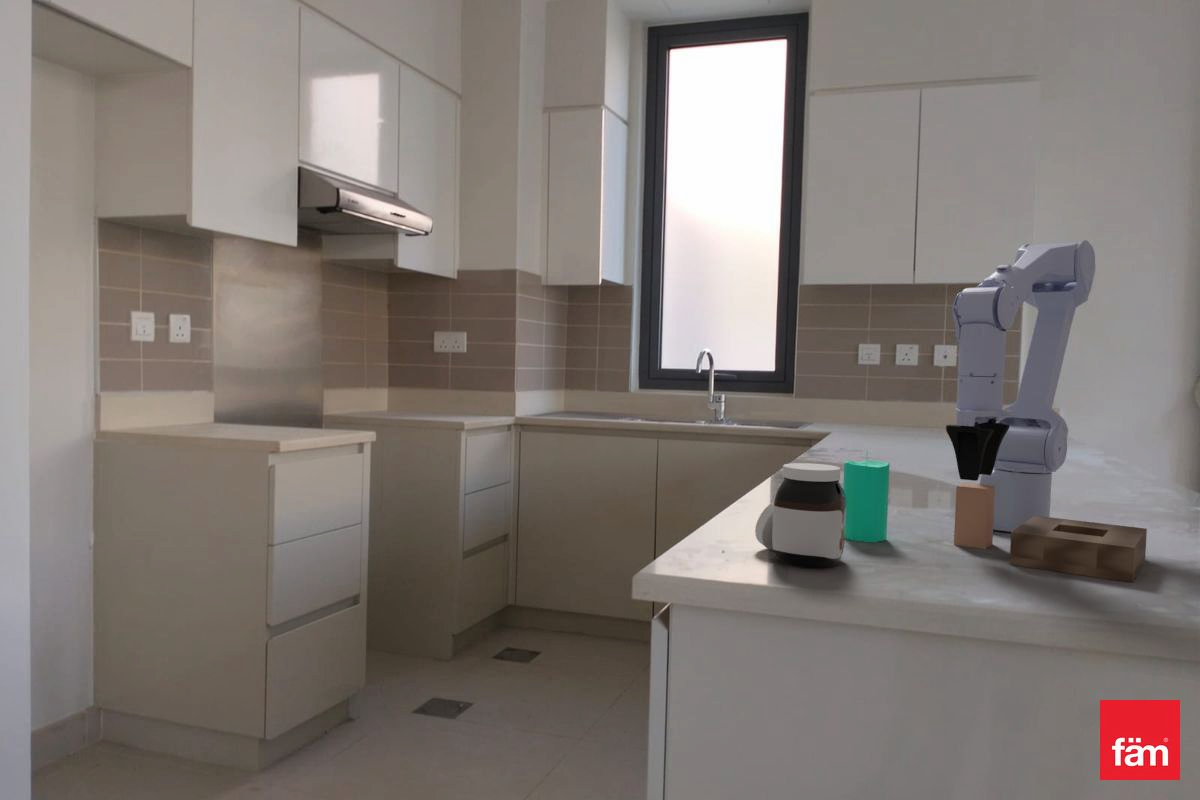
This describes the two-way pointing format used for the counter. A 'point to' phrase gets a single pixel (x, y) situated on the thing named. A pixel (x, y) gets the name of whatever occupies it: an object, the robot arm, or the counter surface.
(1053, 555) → the socket block
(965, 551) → the counter surface
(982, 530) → the peg
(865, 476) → the candle
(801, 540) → the spread jar
